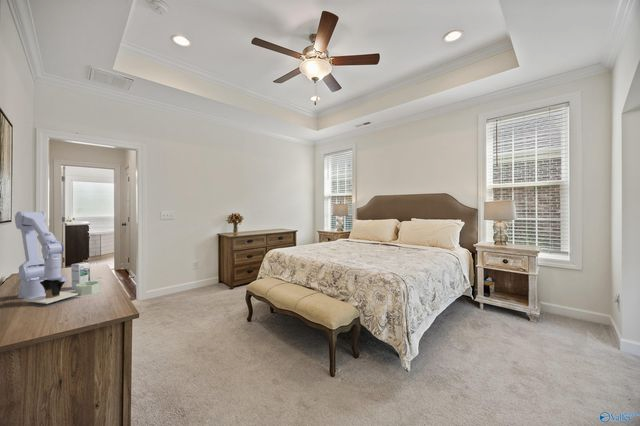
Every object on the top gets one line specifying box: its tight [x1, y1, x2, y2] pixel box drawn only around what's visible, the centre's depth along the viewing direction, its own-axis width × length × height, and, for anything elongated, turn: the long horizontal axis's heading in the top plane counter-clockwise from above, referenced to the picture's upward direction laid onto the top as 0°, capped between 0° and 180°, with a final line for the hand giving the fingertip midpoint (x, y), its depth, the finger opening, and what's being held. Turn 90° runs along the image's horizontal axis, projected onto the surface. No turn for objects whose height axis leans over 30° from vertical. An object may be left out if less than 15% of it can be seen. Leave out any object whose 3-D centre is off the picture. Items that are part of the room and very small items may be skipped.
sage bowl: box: [74, 280, 102, 296], centre depth 141 cm, size 10×10×5 cm
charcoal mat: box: [23, 295, 81, 308], centre depth 128 cm, size 16×14×1 cm
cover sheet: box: [25, 289, 79, 304], centre depth 128 cm, size 13×13×4 cm
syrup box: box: [70, 261, 91, 290], centre depth 148 cm, size 6×6×14 cm
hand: (52, 294), depth 128 cm, fingers closed on cover sheet, 3 cm apart
